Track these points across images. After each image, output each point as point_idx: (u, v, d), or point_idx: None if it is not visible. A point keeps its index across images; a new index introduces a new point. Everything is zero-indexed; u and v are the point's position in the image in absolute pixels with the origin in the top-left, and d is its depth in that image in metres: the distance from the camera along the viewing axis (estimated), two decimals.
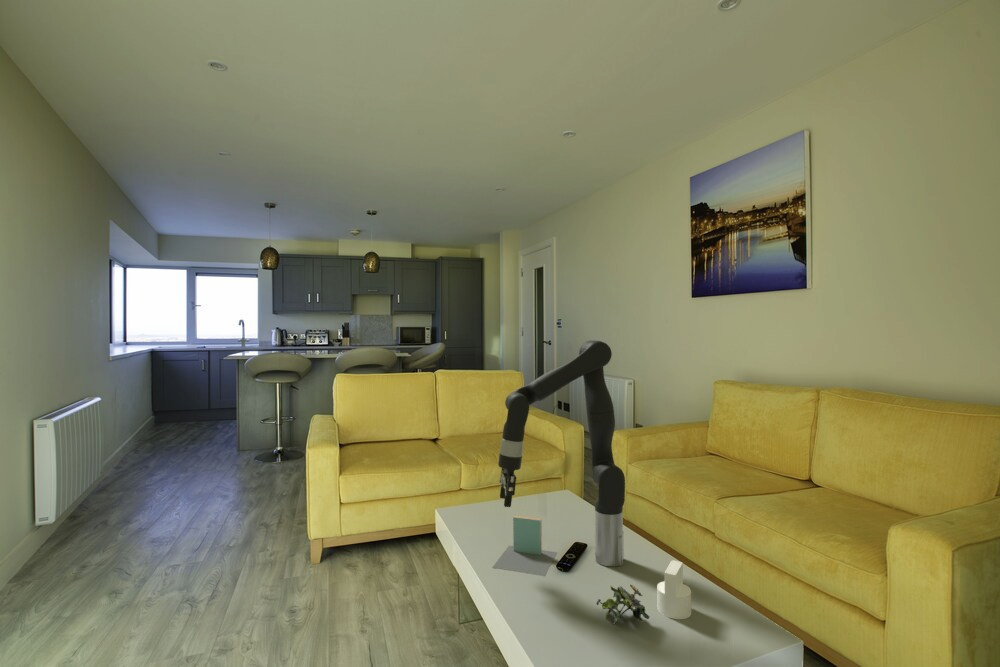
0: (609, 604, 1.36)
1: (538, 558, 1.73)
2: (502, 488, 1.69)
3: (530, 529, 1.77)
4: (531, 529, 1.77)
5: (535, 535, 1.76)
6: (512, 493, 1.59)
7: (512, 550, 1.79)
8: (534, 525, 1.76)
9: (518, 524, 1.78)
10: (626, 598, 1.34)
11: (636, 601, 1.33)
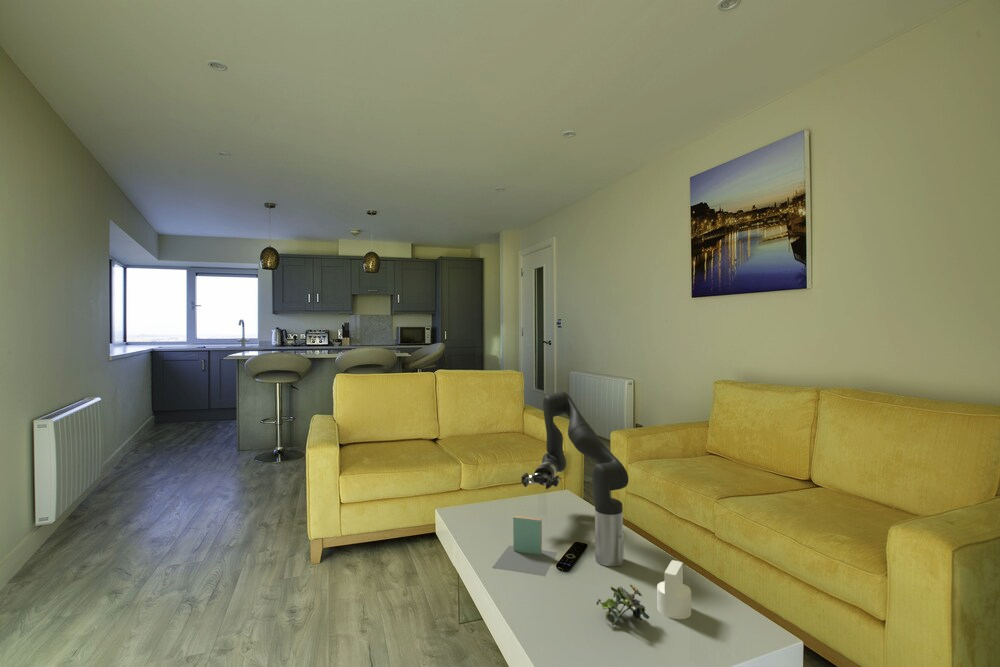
0: (609, 604, 1.36)
1: (538, 558, 1.73)
2: None
3: (530, 529, 1.77)
4: (531, 529, 1.77)
5: (535, 535, 1.76)
6: None
7: (512, 550, 1.79)
8: (534, 525, 1.76)
9: (518, 524, 1.78)
10: (626, 598, 1.34)
11: (636, 601, 1.33)
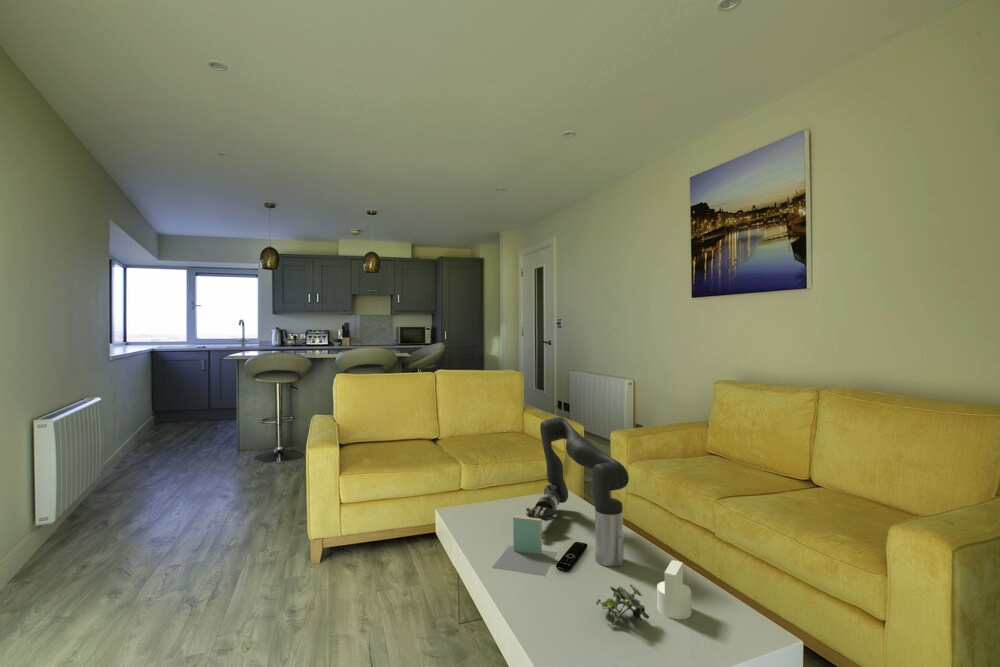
0: (609, 604, 1.36)
1: (538, 558, 1.73)
2: None
3: (530, 529, 1.77)
4: (531, 529, 1.77)
5: (535, 535, 1.76)
6: (530, 514, 1.93)
7: (512, 550, 1.79)
8: (534, 525, 1.76)
9: (518, 524, 1.78)
10: (626, 598, 1.34)
11: (636, 601, 1.33)
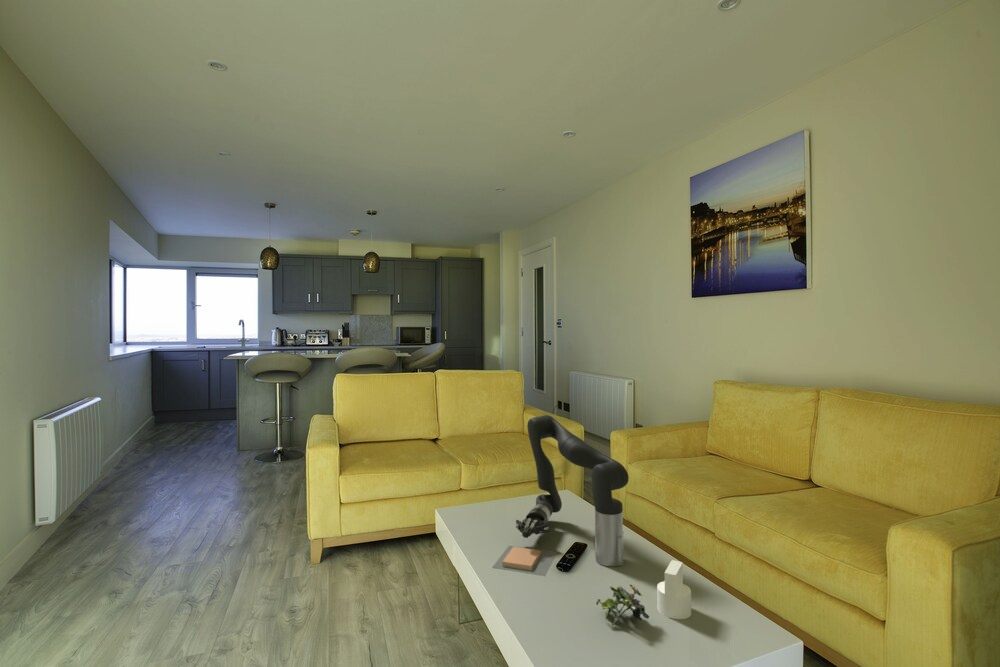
0: (609, 604, 1.36)
1: None
2: None
3: None
4: None
5: None
6: (520, 527, 1.81)
7: None
8: None
9: None
10: (626, 598, 1.34)
11: (636, 601, 1.33)
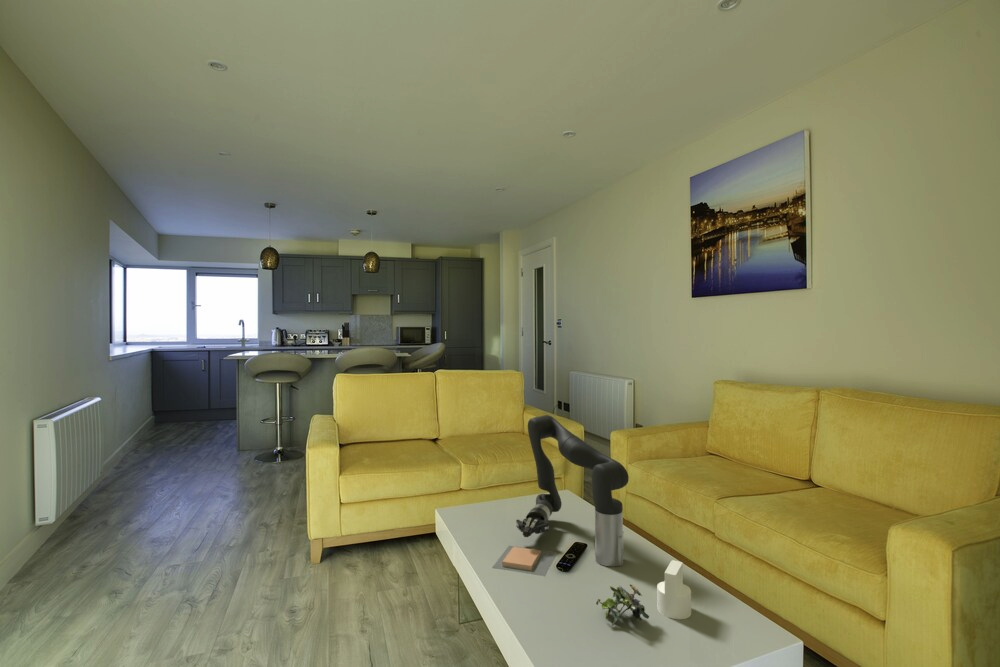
0: (609, 604, 1.36)
1: None
2: None
3: None
4: None
5: None
6: (521, 526, 1.81)
7: None
8: None
9: None
10: (626, 598, 1.34)
11: (636, 601, 1.33)
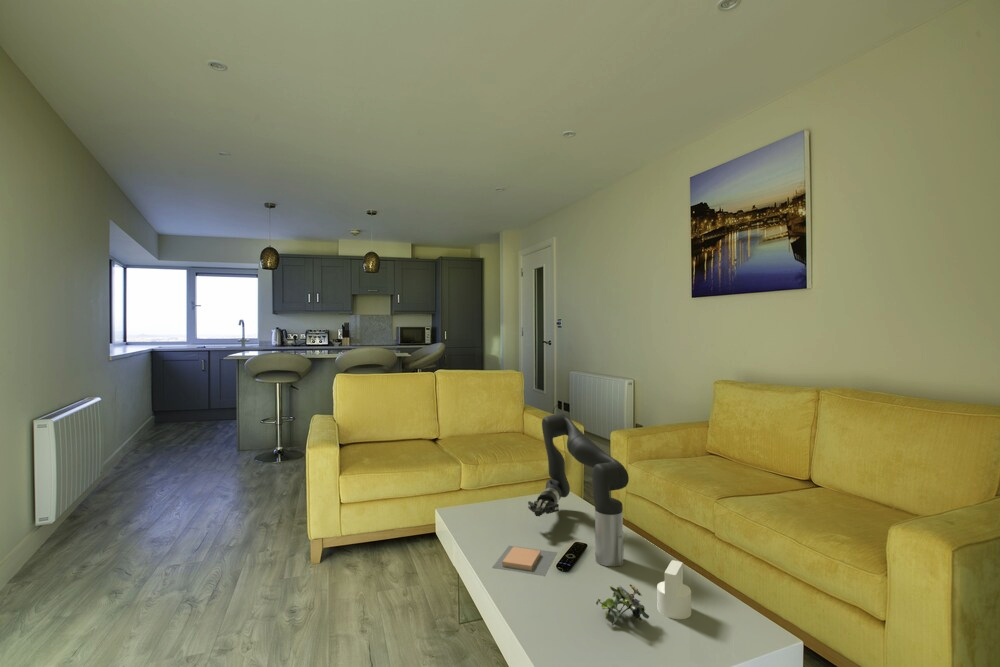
0: (609, 604, 1.37)
1: None
2: None
3: None
4: None
5: None
6: (532, 507, 1.94)
7: None
8: None
9: None
10: (626, 598, 1.34)
11: (636, 601, 1.33)
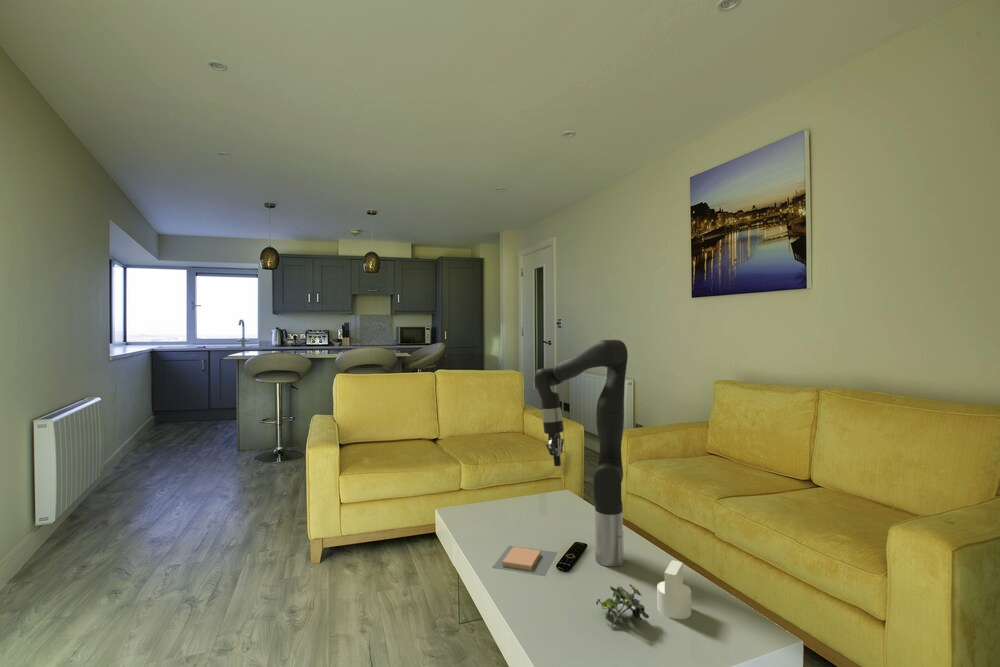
0: (609, 604, 1.37)
1: None
2: None
3: None
4: None
5: None
6: (554, 454, 1.89)
7: None
8: None
9: None
10: (626, 598, 1.34)
11: (636, 601, 1.33)
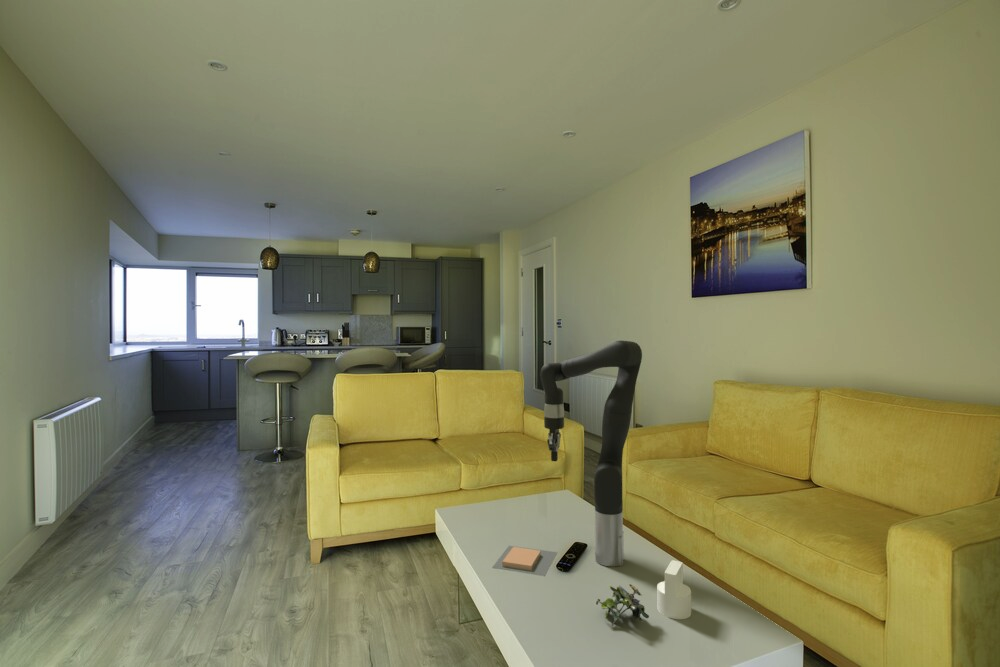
0: (608, 604, 1.37)
1: None
2: None
3: None
4: None
5: None
6: (553, 450, 1.89)
7: None
8: None
9: None
10: (626, 598, 1.34)
11: (636, 600, 1.33)
